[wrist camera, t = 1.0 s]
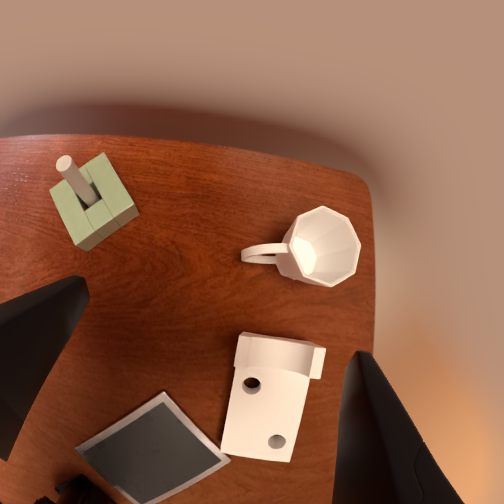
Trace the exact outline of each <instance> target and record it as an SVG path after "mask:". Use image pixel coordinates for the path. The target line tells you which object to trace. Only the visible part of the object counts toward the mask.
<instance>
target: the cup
mask: <svg viewBox="0 0 504 504" xmlns="http://www.w3.org/2000/svg"><path fill="white" fill-rule="evenodd" d="M360 248H361V244H360V242H359V240H358V237H357V235H356V233H355V231H354V229H353V227H352V225H351V223H350V221H349V218H347V217H345V216H343V215H341V214H339V213H337V212H335V211H333V210H331V209H329V208H327V207H325V206H321V207H318V208H316V209H314V210H311V211H309V212H306V213H304V214H302V215H299V216H298V217H297V218H296V220H295V221H294V222H293V224H292V226H291V227H290V228H289V230H288V231H287V232H286V234H285V235H284V238H283V241H282V243H277V244H262V245H257V246H252V247H249V248H246V249H244V250H242V251H241V260H242V261H244V262H250V263H260V264H276V266H277V268H278V270H279V272H280V274H281V275H283V276H286V277H288V278H291V279H293V280H296V279H297V280H300V281H302V282H305V283H308V284H315V285H321V286H326V287H333V286H334V285H336V284H338V283H340V282H341V281H343V280H345V279H346V278H348V277H350V276H351V275H353V274H355V270H356V266H357V261H358V257H359V252H360ZM262 254H276V256H259V255H262Z"/></svg>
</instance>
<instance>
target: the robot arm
mask: <svg viewBox="0 0 504 504" xmlns="http://www.w3.org/2000/svg"><path fill="white" fill-rule="evenodd" d="M89 298H90V296H89V291H88V287H87V283H86V280H85V278H84V277H81V276H79V275H72V276H69V277H67V278H64V279H61V280H59V281H56V282H54V283H51V284H49V285H46V286H43V287H41V288H38V289H36V290H34V291H31V292H29V293H26V294H24V295H21V296H19V297H16V298H14V299H12V300H9V301H7V302H4V303H2V304H0V458H1V459H3V460H4V461H7V460H8V458H9V455H10V453H11V451H12V448H13V446H14V443H15V441H16V439H17V436H18V434H19V432H20V430H21V428H22V425H23V423H24V421H25V419H26V417H27V414H28V412H29V410H30V408H31V406H32V404H33V402H34V400H35V398H36V397H37V395H38V393H39V391H40V389H41V387H42V385H43V383H44V381H45V380H46V378H47V376H48V374H49V372H50V371H51V369H52V367H53V365H54V364H55V362H56V360H57V359H58V357H59V355H60V353H61V352H62V350H63V348H64V347H65V345H66V344H67V342H68V340H69V339H70V337H71V335H72V333H73V331H74V329H75V327H76V325H77V323H78V321H79V319H80V318H81V316H82V314H83V312H84V310H85V308H86V306H87V304H88V302H89ZM82 478H83V479H82ZM54 489H55V491H56V492H57V493H58V494H59V495H61V496H60V497H59V499H58V501H57V502H56V503H54V502H53V501H51V500H50V499H49V498H48V497H46V496H44V497H43V498H40V499H39V500H38V499H37V500H36V501H35V503H34V504H115V503H114V502H113V501H112V500H111V499H109V498H108V497H107V496H106V495H105V494H104V493H102V492H101V491H100V490H99V489H98V488H97V487H96V486H95V485H93V484H92V483H91V482H90V481H89V480H88V479H87V478H86V477H85V476H84V475H81V474H80V475H78V476H76V477H74V478H72V479H70V480H67V481H65V482H63V483H61V484H59V485H57V486H55V488H54ZM58 489H59V490H58ZM0 504H2V503H1V502H0ZM332 504H464V502H463V501H462V500H461V498H460V497H459V495H458V494H457V493H456V491H455V490H454V488H453V487H452V485H451V484H450V482H449V481H448V479H447V478H446V477H445V475H444V474H443V472H442V471H441V469H440V467H439V466H438V465H437V463H436V461H435V459H434V458H433V456H432V454H431V453H430V451H429V449H428V448H427V446H426V444H425V442H423V439H422V437H421V435H420V434H419V432H418V430H417V428H416V427H415V425H414V423H413V421H412V420H411V418H410V416H409V415H408V413H407V411H406V410H405V408H404V406H403V405H402V403H401V401H400V400H399V398H398V397H397V395H396V393H395V391H394V390H393V388H392V386H391V385H390V383H389V382H388V380H387V378H386V377H385V375H384V374H383V372H382V370H381V369H380V367H379V366H378V364H377V362H376V361H375V359H374V358H373V356H372V354H371V353H370V352H367V351H361V350H358V351H356V352H355V353H354V355H353V357H352V358H351V360H350V362H349V363H348V365H347V367H346V370H345V374H344V382H343V390H342V397H341V404H340V411H339V421H338V440H337V456H336V469H335V480H334V490H333V499H332Z"/></svg>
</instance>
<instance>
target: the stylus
mask: <svg viewBox="0 0 504 504" xmlns="http://www.w3.org/2000/svg"><path fill="white" fill-rule="evenodd" d="M56 169H57V170H58V172H59V173H60V174H61V175H62V176H63V178H64V179H65V180H66V181H67V182H68V184H69V185H70V186H71V187H72V188H73V190H74V191H75V192H76V193H77V194H78V195H79V197H80V198H81V199H82V200H83V201H84V202H85V203H86V205H87V206H88V207H89V208H90V207H91V206H93V205H94V204H95V203H97V202H98V201H100V199H99V198H98V196H97V195H96V194H95V192H94V191H93V189H92V188H91V187H90V185H89V184H88V182H87V181H86V179H85V178H84V176H83V175H82V174H81V172H80V171H79V169H78V168H77V166H76V165H75V163H74V162H73V160H72V159H71V157H70V156H68V155H64V156H62V157H60V158H59V159H58V161H57V163H56Z"/></svg>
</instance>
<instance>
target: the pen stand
mask: <svg viewBox="0 0 504 504" xmlns="http://www.w3.org/2000/svg"><path fill="white" fill-rule="evenodd" d="M79 171H80V172H81V174H82V175H83V176H84V178H85V179H86V181H87V182H88V184H89V185H90V187H91V188H92V189H93V191H94V192H95V194H96V195H97V196H99V195H101V197H102V198H103V199H101V200H100V201H98V202H97V203H95V204H94V205H93V206H91V207H90V208H88V209H87V207H86V203H85V202H84V201H83V200H82V199H81V198H80V197H79V195H78V194H77V193H76V192H75V191H74V190H73V188H72V187H71V186H70V185H69V184H68V182H67V181H66V180H65V179H64V180H62V181H61V182H60V183H58V184H57V185H56V186H54V187H53V188H52V189H50V190H49V191H50V193H51V196H52V198H53V200H54V203H55V205H56V207H57V209H58V211H59V213H60V216H61V218H62V220H63V222H64V224H65V226H66V228H67V230H68V232H69V234H70V236H71V238H72V240H73V242H74V244H75V246H77V247H79V248H80V249H82V250H84V251H86V252H88V251H89V250H91V249H92V248H93V247H95V246H96V245H97V244H99V243H100V242H101V241H103V240H104V239H105V238H107V237H108V236H110V235H111V234H112V233H114V232H115V231H117V230H118V229H119V228H121V227H122V226H124V225H125V224H127V223H128V222H129V221H131V220H132V219H134V218H135V217H137V216H138V215H139V212H138V210H137V208H136V206H135V203H134V202H133V200H132V198H131V197H130V195H129V194H128V192H127V190H126V189H125V187H124V185H123V184H122V182H121V180H120V179H119V177H118V175H117V174H116V172H115V170H114V169H113V167H112V165H111V164H110V162H109V160H108V158H107V157H106V155H105V153H104V152H103V153H101V154H100V155H98V156H97V157H95V158H94V159H92V160H91V161H89V162H88V163H86V164H85V165H83V166H82V167H81V168H79Z"/></svg>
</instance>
